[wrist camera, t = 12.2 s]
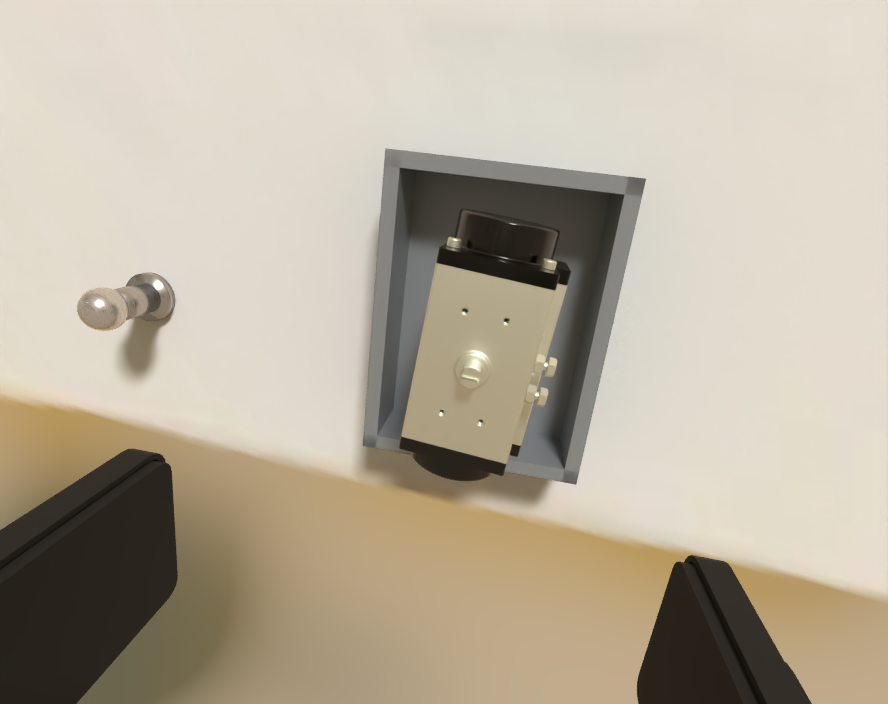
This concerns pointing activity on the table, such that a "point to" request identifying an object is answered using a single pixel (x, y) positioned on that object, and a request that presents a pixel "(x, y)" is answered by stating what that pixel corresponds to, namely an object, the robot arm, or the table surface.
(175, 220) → the table surface
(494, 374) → the pneumatic valve
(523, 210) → the tray
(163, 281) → the metal knob
